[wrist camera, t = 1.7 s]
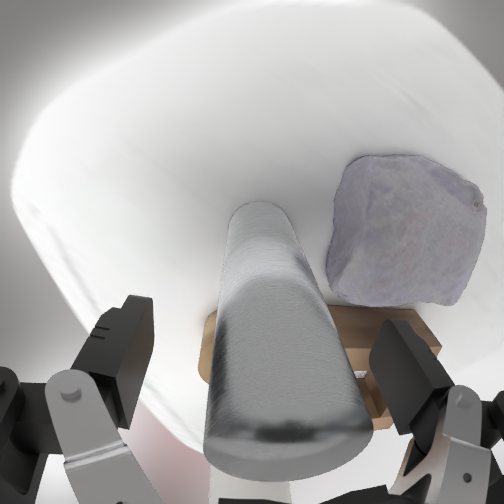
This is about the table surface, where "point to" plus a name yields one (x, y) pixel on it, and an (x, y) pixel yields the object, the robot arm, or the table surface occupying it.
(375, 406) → the collar
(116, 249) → the table surface
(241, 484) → the cylindrical container
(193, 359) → the table surface
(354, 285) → the stone block
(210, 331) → the oak stub
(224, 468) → the steel pin
